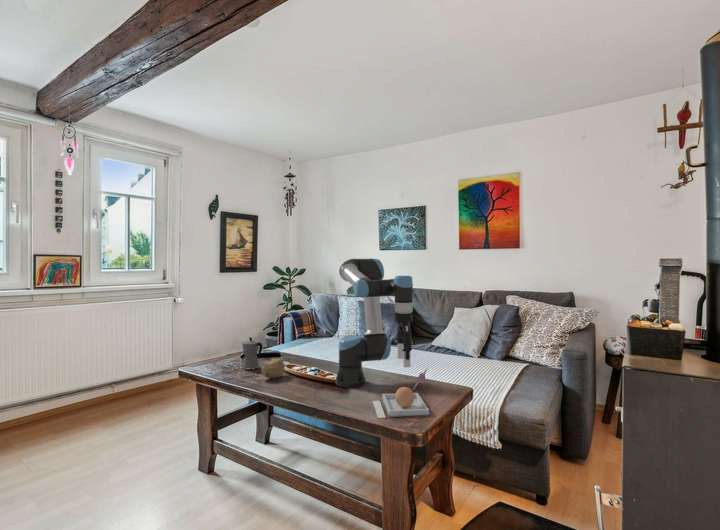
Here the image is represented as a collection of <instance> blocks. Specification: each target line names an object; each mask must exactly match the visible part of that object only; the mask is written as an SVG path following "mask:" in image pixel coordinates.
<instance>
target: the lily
mask: <svg viewBox="0 0 720 530" xmlns="http://www.w3.org/2000/svg"><path fill="white" fill-rule="evenodd" d="M428 370H429V369H428V368H426V369H425V370H424V371H423V372H420V373H419V375H418V376H417V382H416V384H415V385H414V388H413V390H416V387H417V386H418V385H419V384H422V383H426V385H427V386H428V388H431V386H430V384H429V383H428V382H427V380H426V373H427V371H428Z"/></svg>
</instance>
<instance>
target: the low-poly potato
mask: <svg viewBox="0 0 720 530" xmlns="http://www.w3.org/2000/svg"><path fill="white" fill-rule="evenodd" d="M285 365H286V364H285V363H284V361H283V360H282V358H280V357H279V358H278V357H277V358H276V357H275V358H271V359H270V361H269V363H268V364H265V365H262V367H261V370H260V371H261V372H260V373H261V375H262V377H264V378H267V379H271V378H274V379H278V378H277V377H279V378H280V377H282V375H283V374H284V372H285V368H286V366H285Z"/></svg>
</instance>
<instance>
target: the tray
mask: <svg viewBox="0 0 720 530" xmlns="http://www.w3.org/2000/svg"><path fill="white" fill-rule="evenodd" d="M413 393H414V402H413V403H412V405H410V406H409V407H401V406H400V405H398V403H397V402H396V400H395V394H396V393H382V394H381V400H382V402H383V405H384V407H385V410H386V412H387V415H388V417H391V418H393V417H396V418H397V417H423V416H425V417H426V416H430V408H428V406H427V405H426V403H425V402H424V400H423V399H422V397H421V396H420V394H419V393H418V392H413Z"/></svg>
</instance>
